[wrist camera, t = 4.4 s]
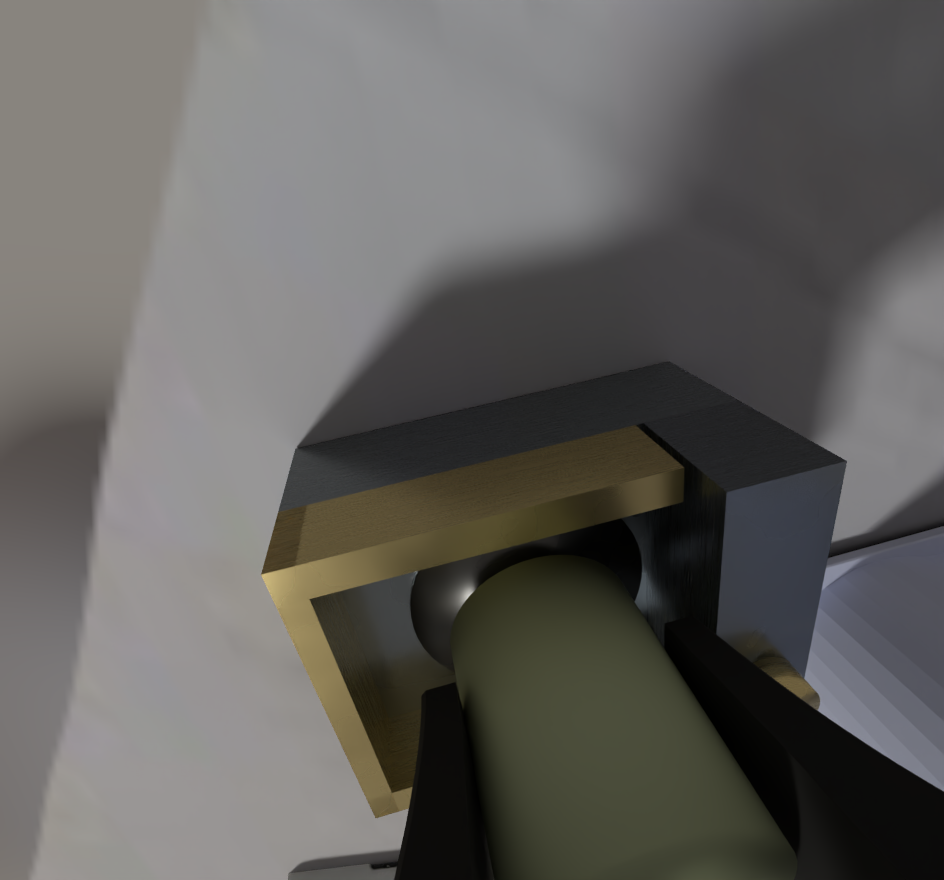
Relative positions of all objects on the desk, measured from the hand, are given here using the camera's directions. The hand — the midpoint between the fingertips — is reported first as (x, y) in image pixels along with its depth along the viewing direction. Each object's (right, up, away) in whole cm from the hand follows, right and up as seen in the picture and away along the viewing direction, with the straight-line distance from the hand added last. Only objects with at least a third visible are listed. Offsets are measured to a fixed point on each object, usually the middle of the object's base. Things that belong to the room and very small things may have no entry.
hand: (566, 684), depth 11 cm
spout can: (0, +1, +2) cm, 2 cm away
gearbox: (-1, +3, +5) cm, 6 cm away
